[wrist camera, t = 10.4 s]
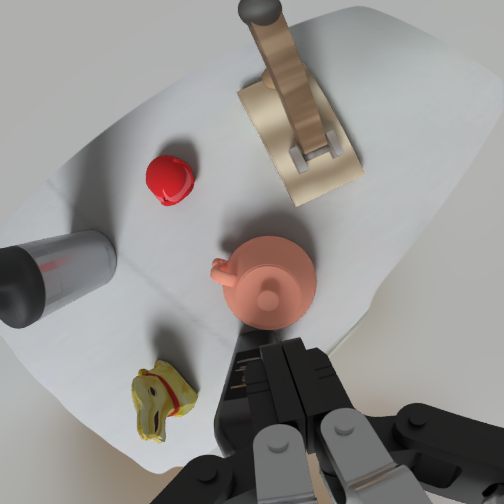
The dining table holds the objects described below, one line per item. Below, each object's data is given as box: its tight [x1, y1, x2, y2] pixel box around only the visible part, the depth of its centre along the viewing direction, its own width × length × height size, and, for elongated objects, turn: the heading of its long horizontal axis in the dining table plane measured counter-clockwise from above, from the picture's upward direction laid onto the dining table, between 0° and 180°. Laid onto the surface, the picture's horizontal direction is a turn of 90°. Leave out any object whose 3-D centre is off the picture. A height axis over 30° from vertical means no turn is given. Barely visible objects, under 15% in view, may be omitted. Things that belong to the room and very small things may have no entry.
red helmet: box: [146, 155, 195, 206], centre depth 39 cm, size 8×6×6 cm
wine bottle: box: [214, 330, 277, 458], centre depth 30 cm, size 6×6×30 cm
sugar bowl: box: [211, 236, 317, 330], centre depth 38 cm, size 12×14×10 cm
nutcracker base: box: [237, 63, 365, 207], centre depth 36 cm, size 18×10×6 cm, turn 26°
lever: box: [238, 0, 327, 154], centre depth 27 cm, size 4×4×20 cm
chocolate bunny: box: [132, 360, 198, 443], centre depth 40 cm, size 7×11×15 cm, turn 33°
